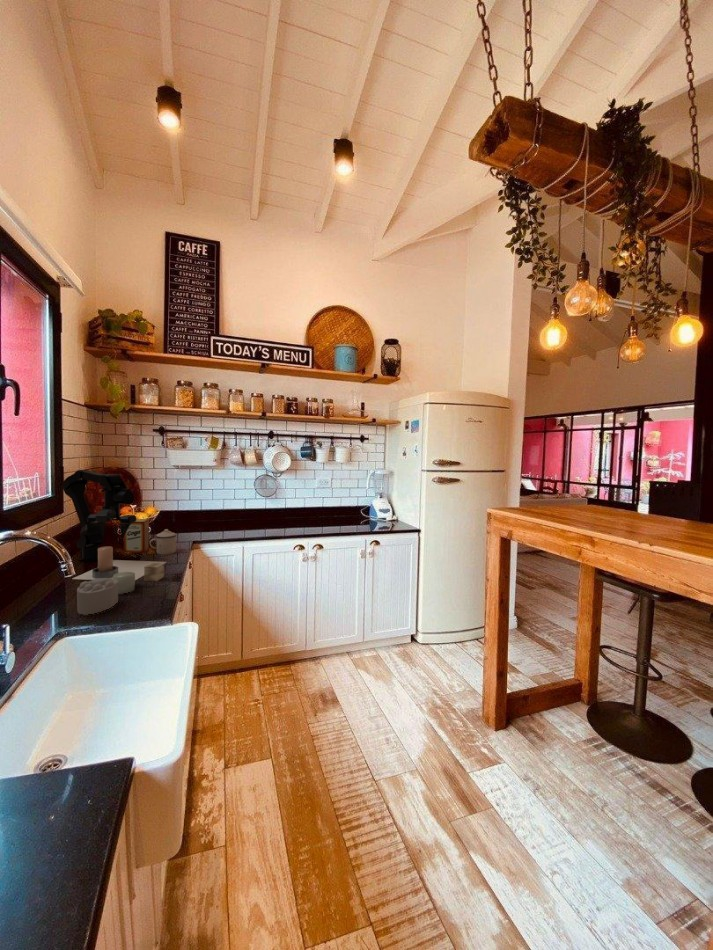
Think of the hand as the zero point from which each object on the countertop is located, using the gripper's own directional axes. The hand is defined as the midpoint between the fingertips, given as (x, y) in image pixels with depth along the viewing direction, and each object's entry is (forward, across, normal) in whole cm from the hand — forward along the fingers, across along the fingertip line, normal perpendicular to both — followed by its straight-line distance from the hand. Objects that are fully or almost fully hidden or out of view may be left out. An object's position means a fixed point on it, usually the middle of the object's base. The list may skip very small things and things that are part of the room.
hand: (112, 537), depth 178 cm
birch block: (+12, +30, -21) cm, 39 cm away
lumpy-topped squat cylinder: (+12, +24, -46) cm, 53 cm away
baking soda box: (+12, -2, +22) cm, 25 cm away
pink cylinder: (+10, +10, -19) cm, 24 cm away
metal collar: (+10, +10, -19) cm, 24 cm away
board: (+12, +12, -12) cm, 21 cm away
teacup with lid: (+12, +12, +21) cm, 27 cm away
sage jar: (+12, +24, -31) cm, 41 cm away
